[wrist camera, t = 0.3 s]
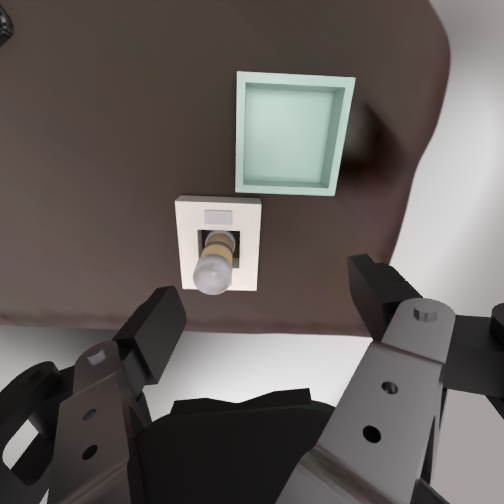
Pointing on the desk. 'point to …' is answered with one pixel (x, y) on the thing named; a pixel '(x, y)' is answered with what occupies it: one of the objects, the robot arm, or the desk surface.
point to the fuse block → (219, 218)
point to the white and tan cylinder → (215, 263)
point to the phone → (5, 27)
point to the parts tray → (290, 132)
